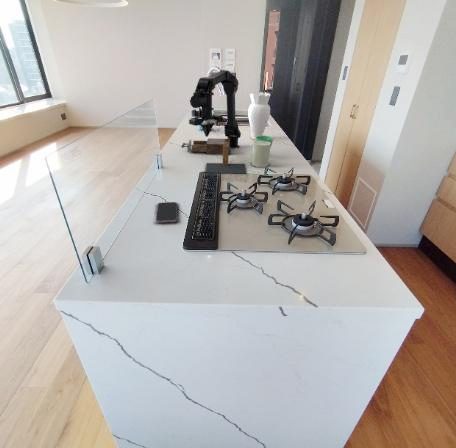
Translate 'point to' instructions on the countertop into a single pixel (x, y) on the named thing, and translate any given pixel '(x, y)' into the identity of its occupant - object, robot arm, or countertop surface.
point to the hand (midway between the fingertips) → (206, 136)
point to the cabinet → (216, 146)
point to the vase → (258, 113)
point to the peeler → (225, 153)
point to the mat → (225, 168)
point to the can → (261, 153)
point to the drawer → (196, 146)
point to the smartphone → (166, 212)
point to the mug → (265, 139)
